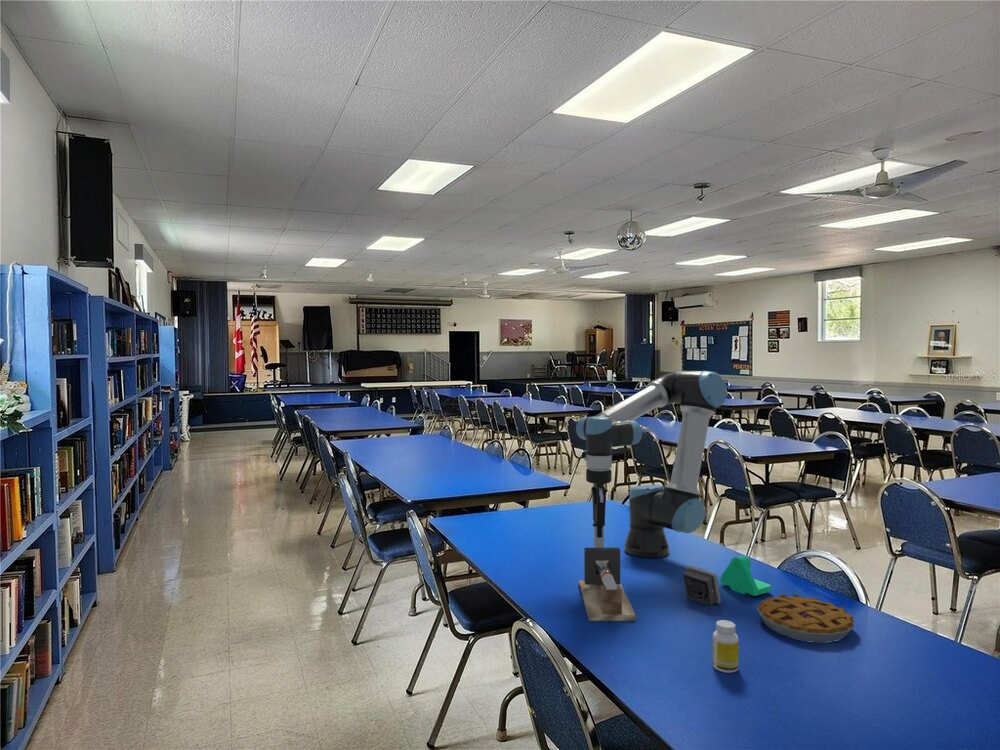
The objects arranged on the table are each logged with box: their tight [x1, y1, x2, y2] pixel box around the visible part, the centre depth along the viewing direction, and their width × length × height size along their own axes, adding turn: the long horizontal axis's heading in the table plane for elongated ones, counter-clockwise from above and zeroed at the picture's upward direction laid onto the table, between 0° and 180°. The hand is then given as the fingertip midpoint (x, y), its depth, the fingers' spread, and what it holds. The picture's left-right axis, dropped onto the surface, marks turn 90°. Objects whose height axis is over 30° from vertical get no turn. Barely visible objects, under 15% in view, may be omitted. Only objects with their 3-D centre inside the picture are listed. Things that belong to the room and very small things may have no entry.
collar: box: [583, 547, 621, 585], centre depth 181 cm, size 10×2×10 cm, turn 89°
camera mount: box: [720, 555, 772, 597], centre depth 183 cm, size 12×8×10 cm, turn 29°
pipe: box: [596, 561, 618, 595], centre depth 175 cm, size 3×24×3 cm, turn 179°
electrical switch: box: [682, 564, 722, 607], centre depth 175 cm, size 9×5×9 cm, turn 38°
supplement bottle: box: [712, 619, 740, 674], centre depth 138 cm, size 5×5×10 cm
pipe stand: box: [578, 561, 637, 622], centre depth 175 cm, size 12×25×8 cm, turn 179°
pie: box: [756, 594, 856, 642], centre depth 159 cm, size 22×22×5 cm
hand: (598, 546), depth 188 cm, fingers closed
